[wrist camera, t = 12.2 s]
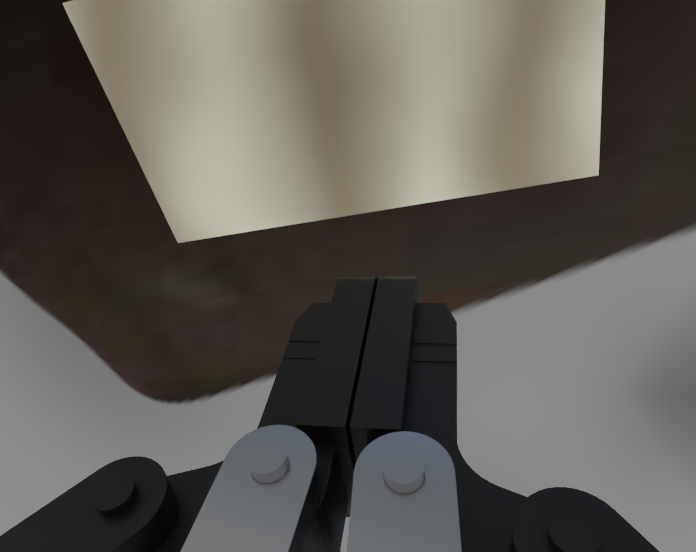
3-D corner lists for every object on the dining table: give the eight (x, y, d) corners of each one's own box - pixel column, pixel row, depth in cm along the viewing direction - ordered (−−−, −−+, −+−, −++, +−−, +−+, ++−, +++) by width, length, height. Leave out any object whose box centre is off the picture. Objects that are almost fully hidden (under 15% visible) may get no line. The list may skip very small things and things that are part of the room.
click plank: (593, -143, 15) (610, -144, 14) (586, 155, 20) (598, 175, 19) (85, -6, 18) (62, 3, 17) (189, 222, 23) (177, 243, 22)
